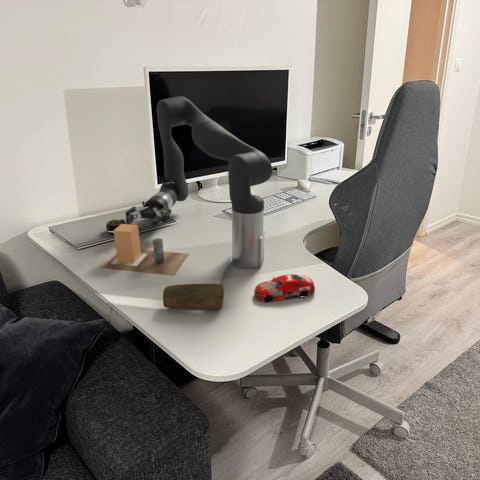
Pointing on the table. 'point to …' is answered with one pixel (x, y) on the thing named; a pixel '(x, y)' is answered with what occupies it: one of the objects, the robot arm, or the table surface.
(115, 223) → the tape measure
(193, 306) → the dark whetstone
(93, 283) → the table surface
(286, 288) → the race car
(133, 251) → the tall wooden pillar
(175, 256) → the board
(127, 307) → the table surface
